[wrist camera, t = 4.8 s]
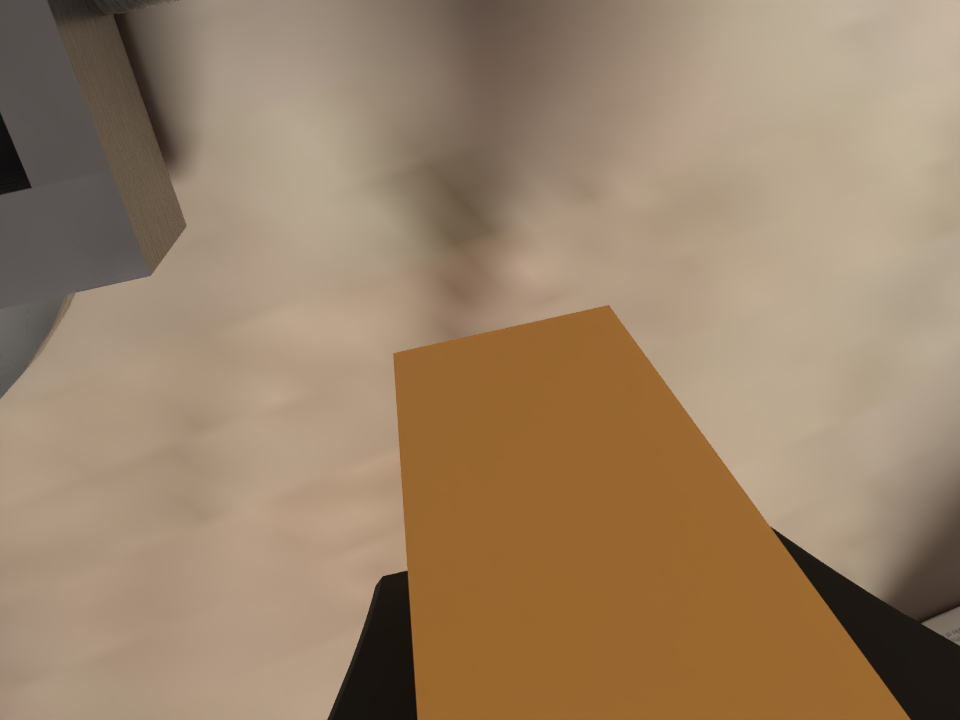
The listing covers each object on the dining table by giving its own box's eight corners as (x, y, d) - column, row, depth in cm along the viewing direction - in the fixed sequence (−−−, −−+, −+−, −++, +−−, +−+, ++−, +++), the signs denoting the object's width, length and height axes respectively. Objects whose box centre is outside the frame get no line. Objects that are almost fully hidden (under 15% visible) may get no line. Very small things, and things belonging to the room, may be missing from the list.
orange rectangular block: (647, 590, 14) (951, 1261, 7) (464, 632, 14) (572, 1359, 7) (609, 305, 12) (988, 828, 5) (393, 353, 12) (433, 962, 4)
